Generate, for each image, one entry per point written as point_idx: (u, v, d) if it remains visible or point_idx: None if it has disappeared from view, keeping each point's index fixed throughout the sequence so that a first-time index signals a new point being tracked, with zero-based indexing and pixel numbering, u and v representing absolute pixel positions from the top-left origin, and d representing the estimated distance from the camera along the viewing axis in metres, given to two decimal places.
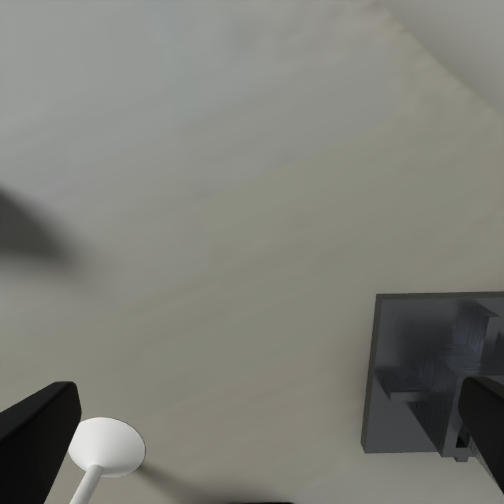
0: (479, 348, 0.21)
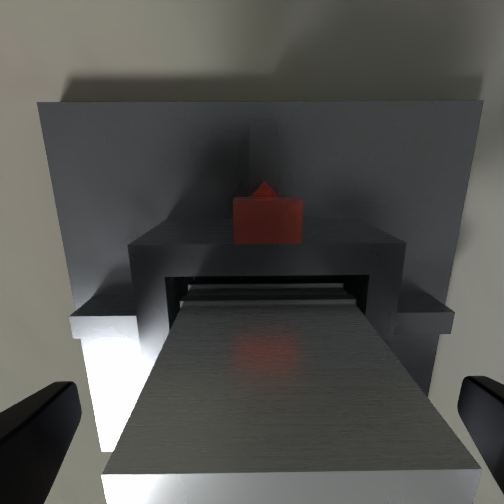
0: None
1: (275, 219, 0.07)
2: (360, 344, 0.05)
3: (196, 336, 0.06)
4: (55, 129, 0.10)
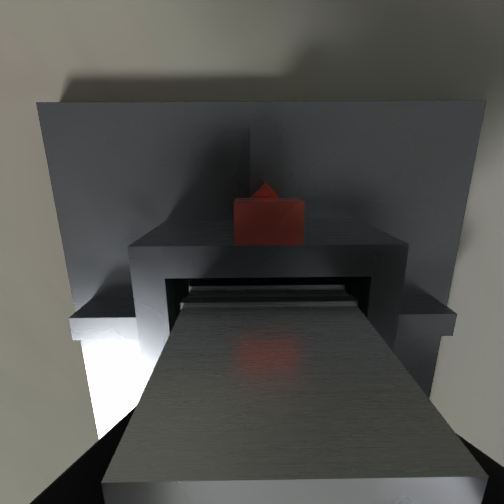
0: None
1: (276, 220, 0.07)
2: (362, 347, 0.05)
3: (197, 339, 0.06)
4: (54, 129, 0.10)
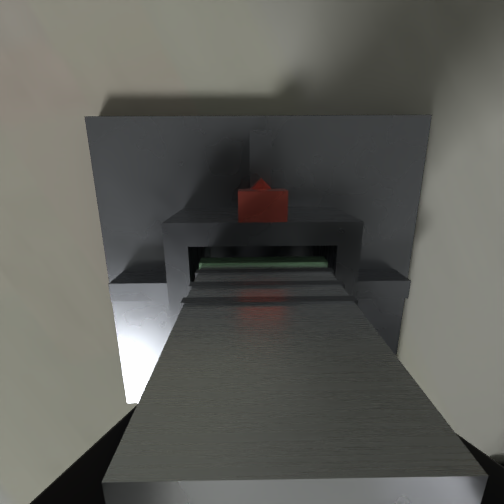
0: None
1: (268, 204, 0.10)
2: (362, 347, 0.05)
3: (197, 338, 0.06)
4: (97, 137, 0.12)
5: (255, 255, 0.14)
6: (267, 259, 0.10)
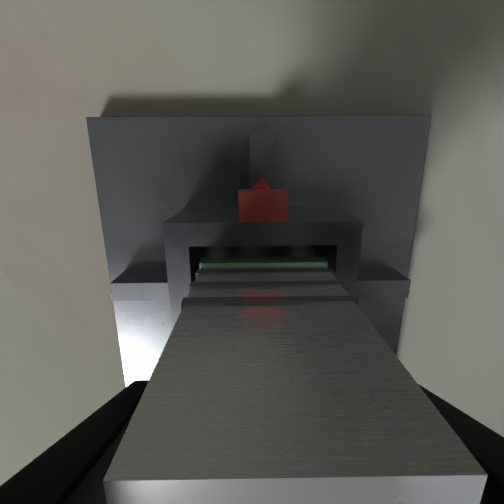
0: None
1: (268, 204, 0.10)
2: (363, 347, 0.05)
3: (197, 338, 0.06)
4: (99, 138, 0.12)
5: (255, 255, 0.14)
6: (267, 259, 0.10)
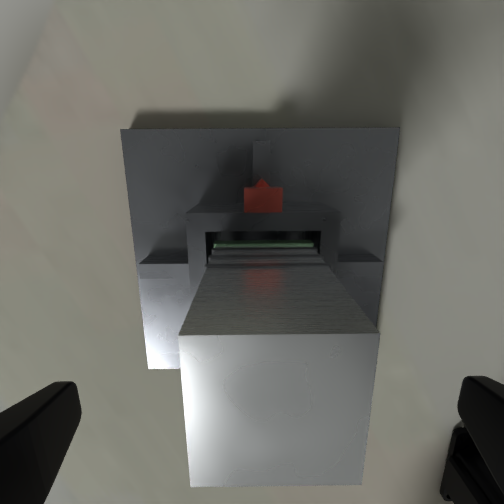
0: None
1: (267, 198, 0.13)
2: (327, 288, 0.08)
3: (219, 284, 0.09)
4: (130, 146, 0.15)
5: None
6: (266, 241, 0.13)
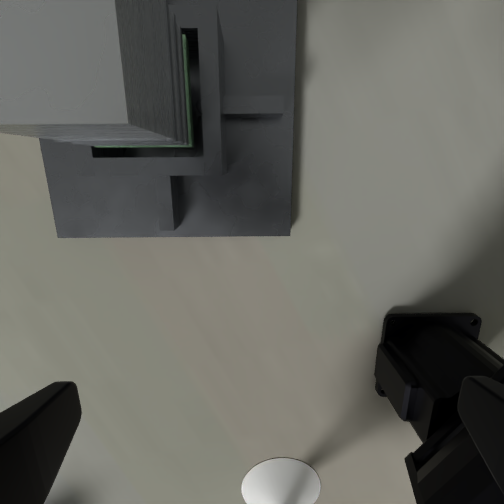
0: None
1: None
2: None
3: None
4: None
5: None
6: None
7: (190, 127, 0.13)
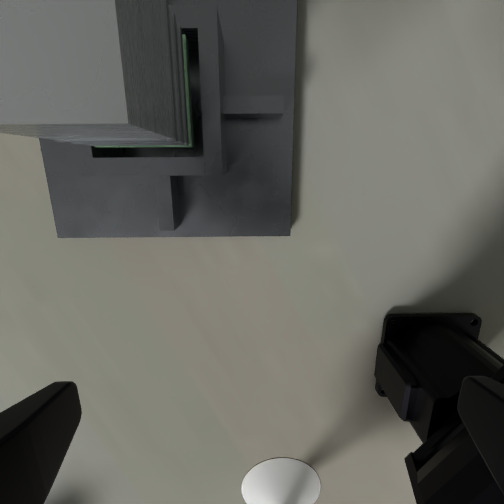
0: None
1: None
2: None
3: None
4: None
5: None
6: None
7: (190, 127, 0.13)
